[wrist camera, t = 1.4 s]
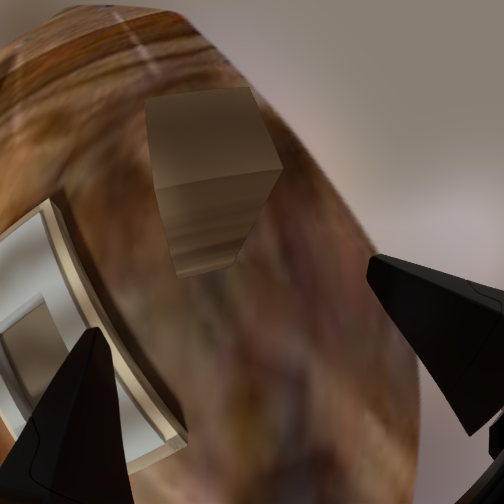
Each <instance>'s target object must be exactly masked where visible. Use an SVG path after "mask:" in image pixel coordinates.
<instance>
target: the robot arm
mask: <svg viewBox="0 0 504 504" xmlns="http://www.w3.org/2000/svg"><path fill="white" fill-rule="evenodd" d="M366 279H367V282H368V284H369V285H370V287H371V288H372V290H373V291H374V293H375V295H376V296H377V298H378V299H379V301H380V303H381V304H382V306H383V308H384V309H385V311H386V312H387V314H388V315H389V317H390V318H391V319H392V321H393V322H394V323H395V325H396V326H397V327H398V329H399V330H400V332H401V333H402V334H403V336H404V337H405V339H406V340H407V341H408V343H409V344H410V346H411V347H412V348H413V350H414V351H415V353H416V354H417V355H418V357H419V358H420V360H421V361H422V363H423V364H424V366H425V367H426V369H427V370H428V372H429V373H430V375H431V376H432V377H433V379H434V381H435V382H436V383H437V385H438V387H439V388H440V390H441V391H442V393H443V394H444V396H445V398H446V400H447V401H448V403H449V404H450V406H451V408H452V409H453V411H454V412H455V414H456V416H457V417H458V419H459V421H460V422H461V424H462V426H463V428H464V429H465V431H466V433H467V434H468V436H472V435H473V434H474V433H475V432H476V431H478V430H479V429H480V428H481V427H482V426H483V425H485V424H486V423H487V422H488V421H489V420H490V419H491V418H492V417H493V416H494V415H495V414H496V413H497V412H498V411H500V409H501V410H502V412H501V413H500V415H499V416H498V417H497V419H496V420H495V421H494V422H493V424H492V425H491V426H490V427H489V454H490V456H491V457H492V458H493V460H494V462H493V463H492V464H491V465H490V466H489V468H488V469H487V470H486V471H485V472H484V474H483V475H482V476H481V477H480V478H479V479H478V480H477V481H476V482H475V484H474V485H473V486H472V487H471V488H470V489H469V490H468V491H467V492H466V493H465V494H464V495H463V496H462V497H461V498H460V499H459V500H458V501H457V502H456V503H455V504H504V291H503V290H499V289H496V288H492V287H488V286H485V285H482V284H478V283H475V282H472V281H469V280H465V279H462V278H460V277H456V276H453V275H450V274H446V273H444V272H440V271H437V270H434V269H431V268H427V267H424V266H421V265H417V264H414V263H411V262H407V261H404V260H401V259H397V258H394V257H390V256H387V255H383V254H377V255H374V256H372V257H371V258H370V260H369V264H368V269H367V274H366ZM0 504H134V500H133V496H132V491H131V486H130V481H129V476H128V471H127V465H126V459H125V452H124V445H123V438H122V429H121V420H120V408H119V397H118V391H117V385H116V379H115V372H114V366H113V358H112V351H111V348H110V345H109V343H108V342H107V340H106V338H105V336H104V334H103V332H102V330H101V329H100V328H99V327H91V328H87V329H86V330H85V331H84V332H83V334H82V335H81V336H80V338H79V339H78V341H77V342H76V344H75V345H74V347H73V348H72V350H71V351H70V353H69V354H68V355H67V357H66V358H65V360H64V362H63V363H62V365H61V366H60V368H59V369H58V371H57V372H56V374H55V375H54V377H53V379H52V380H51V382H50V383H49V385H48V387H47V388H46V390H45V392H44V393H43V395H42V397H41V398H40V400H39V402H38V403H37V405H36V407H35V409H34V410H33V412H32V416H30V417H29V419H28V421H27V423H26V425H25V426H24V428H23V430H22V432H21V434H20V435H19V437H18V439H17V441H16V442H15V444H14V446H13V447H12V449H11V451H10V452H9V454H8V456H7V457H6V459H5V460H4V462H3V464H2V465H1V467H0Z"/></svg>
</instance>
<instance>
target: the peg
mask: <svg viewBox="0 0 504 504" xmlns="http://www.w3.org/2000/svg"><path fill="white" fill-rule="evenodd" d="M144 100H145V113H146V125H147V135H148V144H149V153H150V161H151V169H152V176H153V183H154V190H155V194H156V198H157V203H158V207H159V211H160V215H161V219H162V223H163V227H164V231H165V235H166V239H167V242H168V246H169V250H170V253H171V257H172V261H173V264H174V268H175V271H176V274H177V278H178V279H180V278H185V277H189V276H193V275H198V274H202V273H206V272H211V271H215V270H219V269H224V268H228V267H231V266H232V264H233V262H234V260H235V258H236V256H237V254H238V252H239V251H240V249H241V247H242V245H243V243H244V241H245V239H246V237H247V235H248V234H249V232H250V230H251V228H252V226H253V224H254V222H255V221H256V219H257V217H258V215H259V213H260V211H261V209H262V207H263V206H264V204H265V202H266V200H267V198H268V196H269V194H270V193H271V191H272V189H273V187H274V185H275V183H276V182H277V180H278V178H279V176H280V174H281V172H282V171H283V169H284V168H283V166H282V163H281V161H280V158H279V156H278V153H277V151H276V148H275V146H274V143H273V141H272V138H271V136H270V134H269V131H268V129H267V126H266V124H265V122H264V119H263V117H262V115H261V112H260V110H259V108H258V106H257V103H256V101H255V99H254V97H253V94H252V92H251V90H250V88H249V87H239V88H223V89H211V90H201V91H192V92H184V93H177V94H170V95H163V96H157V97H152V98H146V99H144Z"/></svg>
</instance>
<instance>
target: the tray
mask: <svg viewBox="0 0 504 504" xmlns="http://www.w3.org/2000/svg"><path fill="white" fill-rule="evenodd" d="M91 327H99V328H100V329H101V330H102V332H103V334H104V336H105V338H106V340H107V342H108V343H109V345H110V348H111V351H112V358H113V366H114V372H115V379H116V385H117V391H118V397H119V408H120V420H121V429H122V438H123V445H124V452H125V459H126V465H127V471H128V475H130V474H132V473H134V472H136V471H139V470H141V469H143V468H145V467H147V466H149V465H151V464H153V463H155V462H157V461H159V460H161V459H163V458H165V457H167V456H169V455H171V454H173V453H175V452H176V451H178V450H180V449H182V448H184V447H185V446H187V445H188V432H187V431H186V430H185V429H184V427H183V426H182V425H181V424H180V423H179V421H178V420H177V419H176V418H175V416H174V415H173V414H172V413H171V411H170V410H169V409H168V407H167V406H166V405H165V404H164V402H163V401H162V400H161V398H160V397H159V395H158V394H157V393H156V391H155V390H154V389H153V387H152V386H151V384H150V383H149V382H148V380H147V379H146V377H145V376H144V374H143V373H142V371H141V370H140V368H139V367H138V365H137V364H136V362H135V361H134V359H133V358H132V356H131V355H130V353H129V351H128V350H127V348H126V347H125V345H124V343H123V342H122V340H121V338H120V337H119V335H118V333H117V332H116V330H115V328H114V326H113V325H112V323H111V321H110V319H109V317H108V316H107V314H106V312H105V310H104V308H103V306H102V304H101V303H100V301H99V299H98V297H97V295H96V293H95V291H94V289H93V287H92V285H91V283H90V281H89V278H88V276H87V274H86V272H85V270H84V268H83V266H82V263H81V261H80V259H79V256H78V254H77V252H76V249H75V247H74V245H73V242H72V240H71V237H70V235H69V232H68V229H67V227H66V224H65V222H64V219H63V216H62V213H61V211H60V210H59V209H58V208H57V207H56V205H55V204H54V203H53V202H52V201H51V200H50V199H49V198H48V199H47V200H45V201H44V202H43V203H41V204H40V205H38V206H37V207H36V208H34V209H33V210H31V211H30V212H29V213H27V214H26V215H25V216H24V217H22V218H21V219H20V220H18V221H17V222H16V223H15V224H13V225H12V226H11V227H10V228H8V229H7V230H6V231H5V232H4V233H2V234H1V235H0V416H1V418H2V420H3V421H4V423H5V425H6V427H7V428H8V430H9V432H10V433H11V435H12V436H13V438H14V440H15V441H17V439H18V437H19V435H20V434H21V432H22V430H23V428H24V426H25V425H26V423H27V421H28V419H29V417H30V416H32V412H33V410H34V409H35V407H36V405H37V403H38V402H39V400H40V398H41V397H42V395H43V393H44V392H45V390H46V388H47V387H48V385H49V383H50V382H51V380H52V379H53V377H54V375H55V374H56V372H57V371H58V369H59V368H60V366H61V365H62V363H63V362H64V360H65V358H66V357H67V355H68V354H69V353H70V351H71V350H72V348H73V347H74V345H75V344H76V342H77V341H78V339H79V338H80V336H81V335H82V334H83V332H84V331H85V330H86V329H87V328H91Z"/></svg>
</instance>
